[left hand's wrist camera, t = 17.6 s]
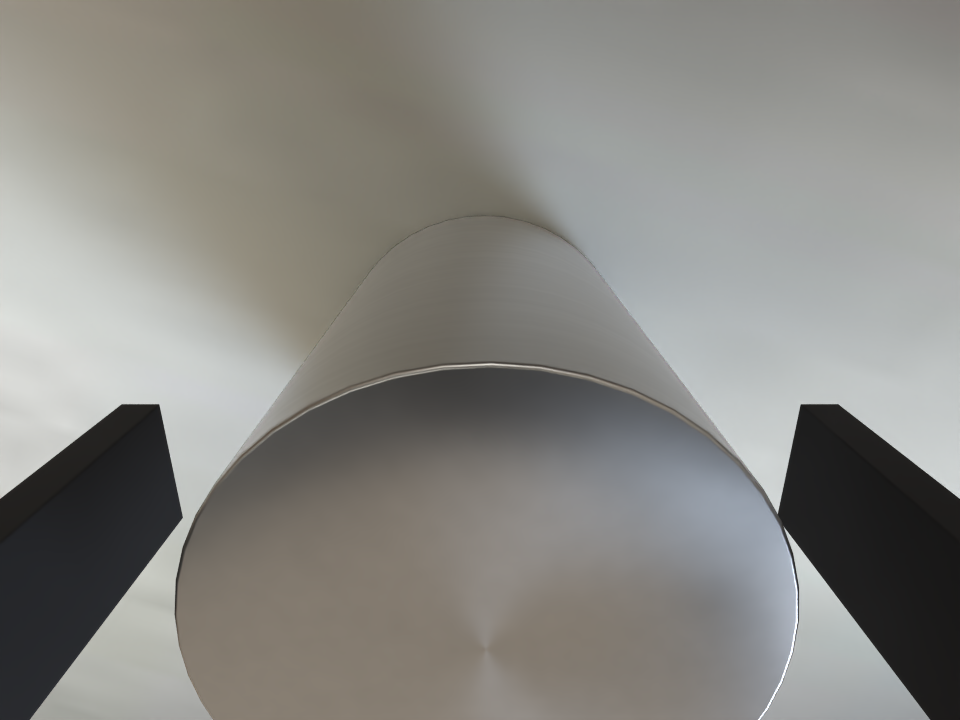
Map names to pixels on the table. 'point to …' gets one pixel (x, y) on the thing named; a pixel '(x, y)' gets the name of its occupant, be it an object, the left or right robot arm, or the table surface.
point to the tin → (486, 514)
